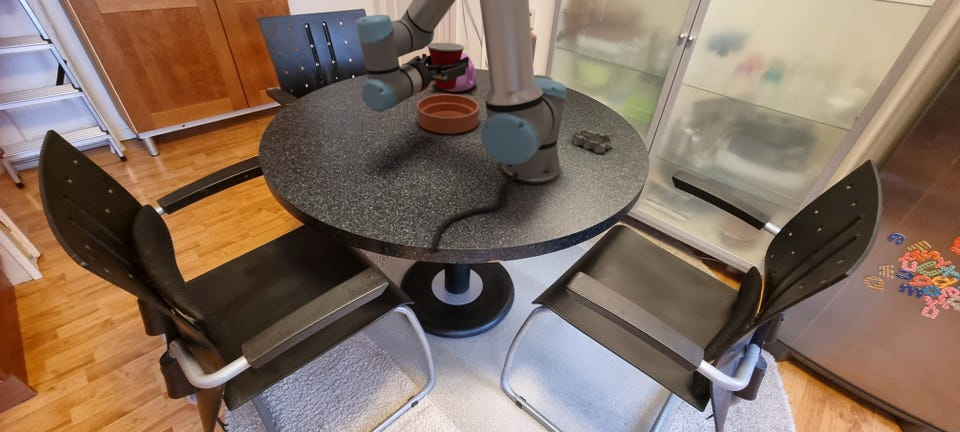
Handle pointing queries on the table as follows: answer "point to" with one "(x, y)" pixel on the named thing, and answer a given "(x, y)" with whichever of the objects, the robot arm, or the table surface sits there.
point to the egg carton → (592, 140)
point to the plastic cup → (445, 59)
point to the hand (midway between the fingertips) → (453, 58)
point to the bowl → (447, 113)
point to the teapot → (465, 78)
